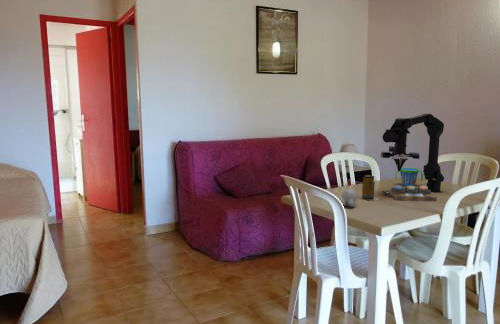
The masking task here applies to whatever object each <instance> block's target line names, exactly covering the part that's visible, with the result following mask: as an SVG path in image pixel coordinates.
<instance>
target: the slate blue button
mask: <svg viewBox="0 0 500 324" xmlns="http://www.w3.org/2000/svg"><path fill="white" fill-rule="evenodd" d="M393 188H394V189H395V190H402V188H403V185H399V184H398V185H394V186H393Z"/></svg>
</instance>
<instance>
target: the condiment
mask: <svg viewBox="0 0 500 324" xmlns="http://www.w3.org/2000/svg"><path fill="white" fill-rule="evenodd" d="M375 183H376V182H375V176H374V175H372V174H371V175H370V174H365V175H363V180H362V188H361V190H362V191H361V196H359V197H358V198H359V199H362V200H366V201H378V200H379V198H378V197H375Z"/></svg>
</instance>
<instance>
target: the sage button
mask: <svg viewBox="0 0 500 324" xmlns="http://www.w3.org/2000/svg"><path fill="white" fill-rule="evenodd" d="M406 188H407V190H415V189H416V185H415V186H406Z"/></svg>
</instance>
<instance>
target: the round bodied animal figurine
mask: <svg viewBox="0 0 500 324" xmlns="http://www.w3.org/2000/svg"><path fill="white" fill-rule="evenodd" d="M341 198H342V199H341V200H340V203H341V202H342V203H343V205H344V207H348V206H349V207H350V208H355V206H356V204H357V203H356V201H357V200H358V193H357V192H356V190H354V189H353V188H346V189H345V190H344V191H342V193H341ZM343 205H342V206H343Z"/></svg>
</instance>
